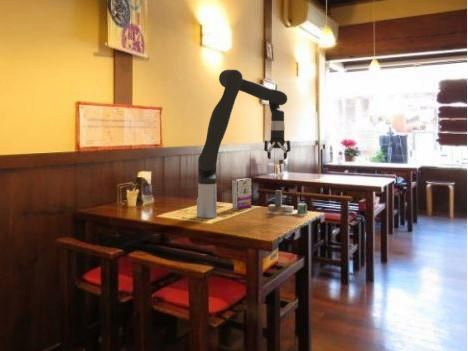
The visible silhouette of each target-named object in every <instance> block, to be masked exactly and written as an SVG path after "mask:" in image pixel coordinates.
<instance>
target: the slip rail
mask: <svg viewBox="0 0 468 351" xmlns="http://www.w3.org/2000/svg"><path fill="white" fill-rule="evenodd" d="M269 205H275V203H271V204H269ZM269 205H267V211H266V214H270V215H278V216H279V215H280V216H291V215H294V217H303V216H304V217H305V216H307V214H309V212H308V203H304V202H303V203H302V202H299V203H298V204H297V209H294V211H293V212H289V211H285V207H282V206H288V205H287V204H282V206H269Z"/></svg>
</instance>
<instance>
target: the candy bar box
mask: <svg viewBox="0 0 468 351" xmlns="http://www.w3.org/2000/svg"><path fill="white" fill-rule="evenodd" d="M252 182H253V181H252V178H248V177H247V178H239V179H232V180H231V185H232V186H231V187H232V188H231V189H232V192H231V193H232V202H231V203H232V209H236V210H240V209H246V208H251V207H252V204H253V203H252V196H253V193H252V190H253V188H252V184H253V183H252Z"/></svg>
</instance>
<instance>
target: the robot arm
mask: <svg viewBox="0 0 468 351" xmlns="http://www.w3.org/2000/svg"><path fill="white" fill-rule="evenodd" d="M243 77H244V76H243V74H242V72H241V71H240V70H238V69H225V70H223V71H221V72H220V74H219V76H218V81H219V84H220V85H221V86H222V87H223V88H224V90H223V93H222V95H221V97H220V99H219V101H218V102H217V103H216V105H215V107H214V108H213V110H212V112H211V115H210V119H209V121H208V128H207V131H206V132H207V133H206V138H205V141H204V146H203V148H202V151H201V153H200V155H199V156H198V159H197V161H198V162H197V164H198V166H197V169H198V170H197V172H198V174H197V179H198V181H197V183H198V184H197V185H198V189H197V190H198V191H197V192H198V193H197V194H198V197H197V198H196V217H197V218H201V219H214V218H216V217H217V209H218V208H217V206H218V205H217V204H218V203H217V202H218V201H217V162H218V156H219V150H220V146H221V144H222V141H223V139H224V136H225V133H226V131H227V130H228V129H227V128H228V125H229V122H230V119H231V115H232V111H233V109H234V104H235V102H236V99H237V97H238V94H239V92H243V93H246V94H248V95H250V96H252V97H254V98H257V99H259V100H261V101H266V102H268V106H269V110H270V116H271V117H270V136H269V137H270V139H269V140H268V139H265V140H264V146H263V147H264V148H263V151H265V152H266V153H267V159H268V160H271V159H272V155H271V154H272V151H273V149H281V150H282V151H283V160H285V161H286V159H287V158H288V152H291V150H292V149H291V140H285V129H286V128H285V111H284V110H282V109H281V108H280V106H283V105H285V104H287V102H288V95H287V94H286V92H283V91H281V90H280V89H279V90H278V89H274V88H270V87H268V86H266V85H263V84H261V83H258V82H254V81H251V80H247V79H245V78H243ZM269 144H270V146H269ZM285 144H286V147H285Z"/></svg>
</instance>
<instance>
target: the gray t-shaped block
mask: <svg viewBox="0 0 468 351" xmlns="http://www.w3.org/2000/svg"><path fill="white" fill-rule="evenodd" d="M274 192H275V193H274V194H275V196H274V204H275V205H270V204H269V205H268V206H282V205H283V190H280V189H276V190H274ZM294 206H295V205H287V206H282V207H285V211H289V212H293V211H294V210H295V209H294V208H295V207H294Z"/></svg>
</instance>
